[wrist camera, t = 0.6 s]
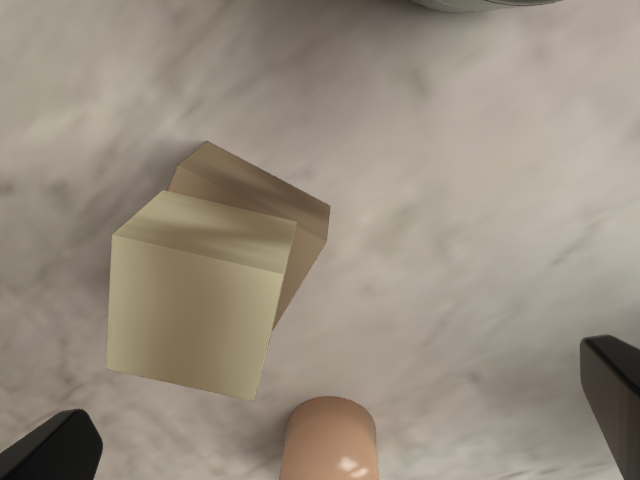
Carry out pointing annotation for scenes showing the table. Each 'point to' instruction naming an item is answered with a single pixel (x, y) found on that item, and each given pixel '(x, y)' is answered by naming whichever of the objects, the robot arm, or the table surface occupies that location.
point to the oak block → (196, 293)
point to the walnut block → (258, 205)
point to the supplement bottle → (478, 4)
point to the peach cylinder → (330, 442)
